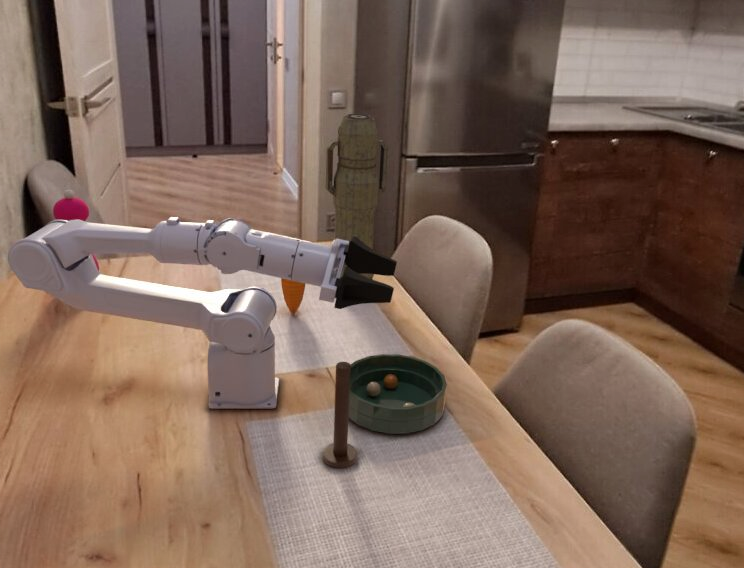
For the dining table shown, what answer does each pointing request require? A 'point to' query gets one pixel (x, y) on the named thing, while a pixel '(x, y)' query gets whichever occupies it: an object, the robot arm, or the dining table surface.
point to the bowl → (396, 394)
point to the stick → (341, 422)
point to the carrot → (292, 293)
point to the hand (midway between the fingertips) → (393, 281)
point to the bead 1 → (373, 389)
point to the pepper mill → (71, 210)
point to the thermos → (356, 179)
